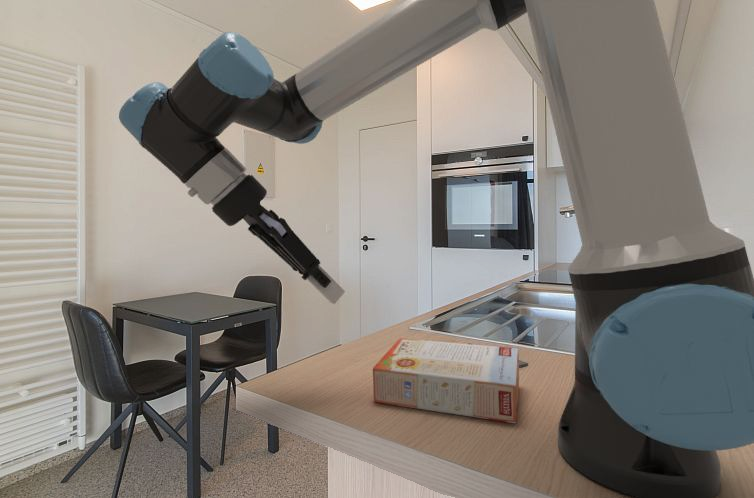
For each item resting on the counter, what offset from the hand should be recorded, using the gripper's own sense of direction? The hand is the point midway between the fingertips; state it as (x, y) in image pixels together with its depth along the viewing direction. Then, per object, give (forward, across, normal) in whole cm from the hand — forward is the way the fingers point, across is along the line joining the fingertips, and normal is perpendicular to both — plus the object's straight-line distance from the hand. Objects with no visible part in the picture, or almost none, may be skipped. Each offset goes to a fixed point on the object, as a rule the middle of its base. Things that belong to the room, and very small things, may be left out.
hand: (338, 297), depth 64 cm
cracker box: (+14, +3, -3) cm, 15 cm away
